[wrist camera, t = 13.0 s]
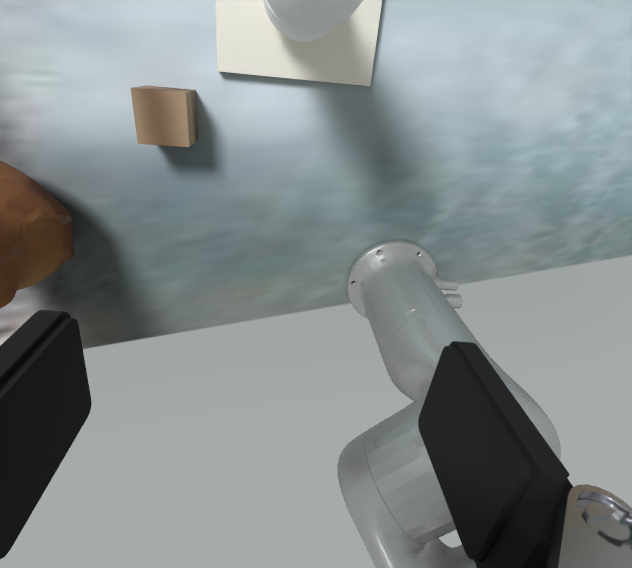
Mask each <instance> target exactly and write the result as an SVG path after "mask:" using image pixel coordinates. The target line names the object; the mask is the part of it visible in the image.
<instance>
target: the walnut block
mask: <svg viewBox="0 0 632 568" xmlns="http://www.w3.org/2000/svg"><path fill="white" fill-rule="evenodd" d="M131 93H132V101H133V109H134V117H135V125H136V132H137V140H138V144H150V145H164V146H178V147H190V146H191V145H193V144H194V143H195V142H196V141H197V140H198V129H197V111H196V94H195V90H189V89H178V88H166V87H155V86H141V87H133V88H131Z"/></svg>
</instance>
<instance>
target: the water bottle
mask: <svg viewBox="0 0 632 568" xmlns="http://www.w3.org/2000/svg"><path fill="white" fill-rule="evenodd" d="M263 1H264V6H265V9H266V12H267V15H268V17H269V19H270V21H271V22H272V24H273V25H274V26H275V28H276V29H277V30H278V31H279V32H280V33H281V34H283V35H284V36H286V37H287V38H289V39H292V40H295V41H298V42H309V41H313V40H316V39H318V38H320V37H322V36H323V35H325V34H326V33H327V32H328V31H329V30H330V29H331V28H332V27H334V26H336V25H338V24H340V23H341V22H343V21H344V20H346V19H347V18H349V17H350V16H351V15H352V14H353V13H354V12H355V11H356V9H357V8H358V7H359V5H360V4H361V2H362V1H363V0H263Z"/></svg>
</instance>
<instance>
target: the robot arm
mask: <svg viewBox="0 0 632 568" xmlns="http://www.w3.org/2000/svg"><path fill="white" fill-rule="evenodd" d="M377 250H379V251H377ZM418 252H419V253H418ZM352 281H354V282H352ZM457 288H458V282H457V281H456V280H441V279H440V278H438V276H437V269H436V266H435V263H434V261H433V260H432V258H431V256H430V255H429V254H428V253H427V252H426V251H425V250H424V249H423V248H421V247H420V246H418V245H416V244H414V243H411V242H407V241H400V240H394V241H386V242H383V243H380V244H377V245H375V246H373V247H371V248H369V249H368V250H367V251H365V252H364V253H363V254H361V256H360V257H359V258H358V259H357V260H356V261H355V263H354V264H353V266H352V267H351V270H350V272H349V274H348V279H347V292H348V296H349V299H350V301H351V304H352V305H353V307H354V308H355V309H356V310H357V311H358V312H359V313H360V314H361V315H363V316H364V317H366V318H368V319H369V322H370V325H371V327H372V330H373V333H374V336H375V339H376V341H377V344H378V347H379V350H380V353H381V355H382V358H383V361H384V364H385V366H386V369H387V372H388V374H389V376H390V378H391V380H392V382H393V383H394V385H395V386H396V387H397V388H398V389H399V390H400V391H401V392H402V393H403V394H404V395H406V396H407V397H409V398H410V399H412V400H413V401H414V402H413V403H411V404H409V405H408V406H407V407H405V408H404V409H402V410H401V411H399V412H397V413H396V414H394V415H392V416H391V417H389V418H387V419H385V420H384V421H382V422H380V423H379V424H377V425H375V426H374V427H372V428H370V429H369V430H367V431H366V432H364V433H362V434H361V435H359V436H358V437H356V438H355V439H354V440H352V441H351V442H350V443H348V444H347V446H346V447H345V448H344V449H343V451H342V452H341V455H340V457H339V461H338V479H339V484H340V488H341V492H342V494H343V497H344V500H345V503H346V506H347V508H348V510H349V513H350V515H351V517H352V519H353V521H354V524H355V525H356V528H357V530H358V532H359V534H360V536H361V538H362V540H363V542H364V544H365V546H366V548H367V550H368V552H369V554H370V556H371V558H372V561H373V563H374V565H375V567H376V568H632V508H631V507H630V506H629V505H628V504H626V503H625V502H624V501H623V500H621V499H620V498H618V497H616V496H615V495H613V494H612V493H610V492H608V491H606V490H603V489H601V488H599V487H595V486H591V485H577V486H575V487H573V486H572V485H571V483H570V482H569V480H568V479H567V477H568V476H569V473H568V472H567V470H566V469H565V467H564V466H563V464H562V463H561V462H560V454H561V447H560V441H559V437H558V435H557V432H556V430H555V428H554V426H553V424H552V422H551V421H550V419H549V418H548V417H547V415H546V414H545V412H544V411H543V410H542V408H541V407H540V406H539V405H538V404H537V403H536V402H535V400H534V399H533V398H531V396H530V395H529V394H528V393H527V392H526V391H525V390H524V389H522V388H521V387H520V386H519V385H518V384H517V383H516V382H515V381H514V380H513V379H512V378H511V377H510V376H509V375H507V374H506V373H505V372H504V371H503V370H502V369H501V368H500V367H499V366H498V365H497V363H496V362H494V360H493V359H492V358H491V357H490V356H489V355H488V353H487V352H486V351H485V350H484V348H483V347H482V346H481V345H480V343H479V342H478V341H477V340H476V338H475V337H474V336H473V334H472V333H471V331H470V330H469V329H468V327H467V326H466V325H465V323H464V322H463V321H462V319H461V318H460V317H459V315H458V314H457V312H456V311H455V310H454V308H460V307H461V306H462V297H461V295H459V294H446V295H443V293H442V292H441V289H444V290H445V289H446V290H457ZM90 409H91V396H90V390H89V384H88V379H87V373H86V367H85V361H84V355H83V349H82V343H81V337H80V331H79V325H78V321H77V320H76V319H74V318H71V316H70V315H69V313H67V312H61V311H47V310H39V311H38V312H36V313H35V314H34V315H33V316H32V317H31V318H30V319H28V320H27V321H26V322H25V323H24V324H23V325H22V326H21V327H20V328H19V329H18V330H17V331H16V332H15V333H14V334H13V335H11V336H10V337H9V338H8V339H7V340H6V341H5V342H4V343H3V344H2V345H1V346H0V559H2V558H3V557H5V556H6V554H7V553H8V552H9V550H10V549H11V547H12V546H13V544H14V542H15V541H16V539H17V537H18V535H19V534H20V532H21V530H22V529H23V527H24V525H25V523H26V522H27V520H28V518H29V517H30V515H31V513H32V511H33V510H34V508H35V506H36V504H37V503H38V501H39V499H40V498H41V496H42V494H43V493H44V491H45V489H46V487H47V486H48V484H49V482H50V481H51V479H52V477H53V475H54V474H55V472H56V470H57V469H58V467H59V465H60V463H61V462H62V460H63V458H64V457H65V455H66V453H67V451H68V450H69V448H70V446H71V445H72V443H73V441H74V439H75V438H76V436H77V434H78V432H79V431H80V429H81V427H82V426H83V424H84V422H85V421H86V419H87V417H88V415H89V413H90ZM456 529H457V532H458V535H459V537H460V540H461V542H462V545H460V546H458V547H455V548H451V547H448V546H446V545H445V544H444V543H443V542H441V541H440V539H439V537H441V536H443V535H445V534H447V533H450V532H452V531H454V530H456Z"/></svg>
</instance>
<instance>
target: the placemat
mask: <svg viewBox="0 0 632 568" xmlns="http://www.w3.org/2000/svg"><path fill="white" fill-rule="evenodd" d="M381 5H382V0H363V1H362V2H361V4H360V5H359V7H358V8H357V9H356V11H355V12H354V13H353V14H352V15H351V16H350V17H349V18H347V19H346V20H344V21H343V22H341V23H340V24H338V25H336V26H334V27H332V28H331V29H330V30H329V31H328V32H327V33H326V34H325V35H323V36H322V37H320V38H318V39H316V40H313V41H309V42H298V41H295V40H292V39H289V38H287V37H286V36H284V35H283V34H281V33H280V32H279V31H278V30H277V29H276V28H275V26H274V25H273V24H272V22H271V21H270V19H269V17H268V15H267V12H266V9H265V6H264V1H263V0H216V35H217V71H220V72H230V73H240V74H250V75H260V76H270V77H280V78H291V79H301V80H311V81H321V82H331V83H341V84H351V85H362V86H370V84H371V77H372V70H373V62H374V55H375V48H376V41H377V34H378V26H379V19H380V12H381Z"/></svg>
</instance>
